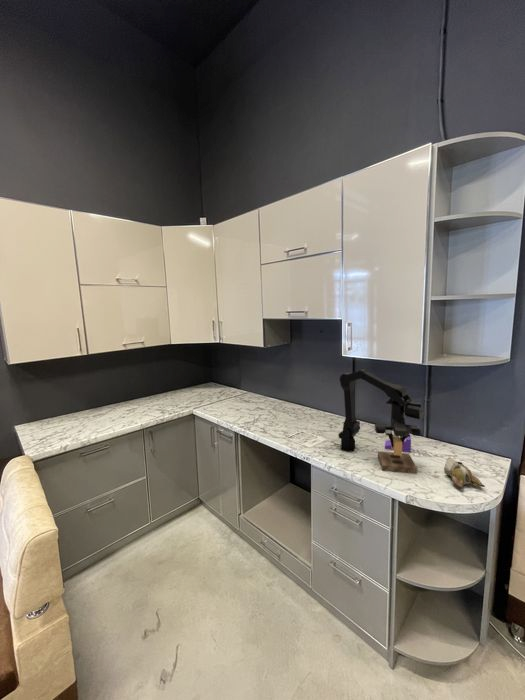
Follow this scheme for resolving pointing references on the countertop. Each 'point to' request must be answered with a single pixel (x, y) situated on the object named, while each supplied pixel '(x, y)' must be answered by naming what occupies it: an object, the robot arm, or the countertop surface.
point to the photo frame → (310, 443)
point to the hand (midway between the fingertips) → (396, 447)
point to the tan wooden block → (397, 445)
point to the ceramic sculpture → (460, 474)
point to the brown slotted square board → (396, 462)
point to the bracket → (405, 447)
